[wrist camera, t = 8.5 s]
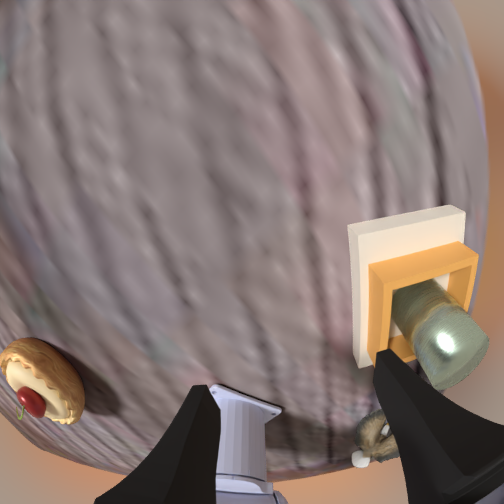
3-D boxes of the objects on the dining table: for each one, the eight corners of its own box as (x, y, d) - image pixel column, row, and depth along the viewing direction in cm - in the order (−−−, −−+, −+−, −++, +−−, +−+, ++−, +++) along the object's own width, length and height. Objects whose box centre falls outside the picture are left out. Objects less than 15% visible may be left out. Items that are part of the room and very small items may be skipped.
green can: (408, 331, 19) (446, 394, 12) (378, 309, 18) (421, 381, 11) (445, 291, 17) (494, 347, 11) (420, 263, 16) (479, 323, 10)
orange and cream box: (435, 325, 21) (458, 355, 17) (352, 352, 22) (367, 390, 18) (449, 204, 17) (487, 223, 13) (347, 224, 17) (373, 252, 13)
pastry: (109, 386, 26) (87, 448, 17) (69, 402, 28) (49, 450, 20) (32, 312, 21) (-11, 368, 13) (7, 345, 23) (-23, 389, 15)
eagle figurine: (402, 434, 29) (422, 413, 24) (387, 475, 24) (406, 465, 19) (357, 423, 33) (367, 401, 28) (339, 463, 28) (346, 451, 23)
